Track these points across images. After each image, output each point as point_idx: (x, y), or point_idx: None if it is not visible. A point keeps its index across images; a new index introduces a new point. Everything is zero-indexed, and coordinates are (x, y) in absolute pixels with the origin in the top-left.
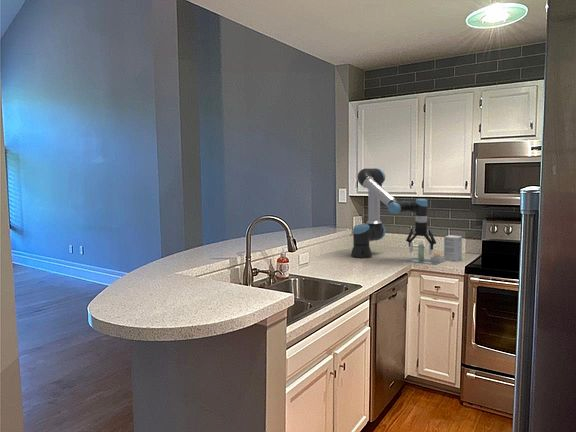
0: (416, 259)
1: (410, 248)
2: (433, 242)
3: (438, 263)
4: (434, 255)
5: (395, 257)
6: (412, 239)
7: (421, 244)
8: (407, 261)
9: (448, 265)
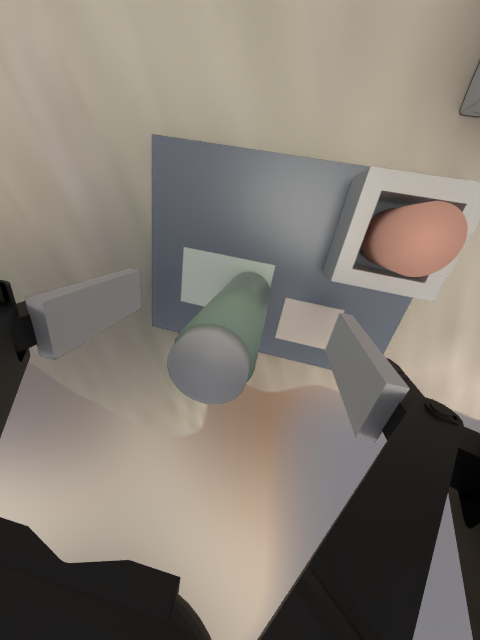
0: (195, 219)
1: (112, 323)
2: (474, 512)
3: (391, 321)
4: (375, 255)
5: (20, 165)
6: (11, 401)
7: (224, 399)
8: (172, 325)
9: (472, 329)
